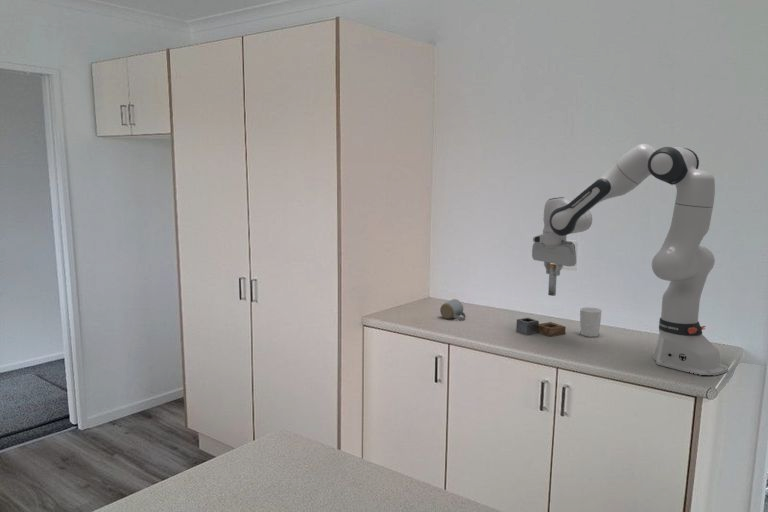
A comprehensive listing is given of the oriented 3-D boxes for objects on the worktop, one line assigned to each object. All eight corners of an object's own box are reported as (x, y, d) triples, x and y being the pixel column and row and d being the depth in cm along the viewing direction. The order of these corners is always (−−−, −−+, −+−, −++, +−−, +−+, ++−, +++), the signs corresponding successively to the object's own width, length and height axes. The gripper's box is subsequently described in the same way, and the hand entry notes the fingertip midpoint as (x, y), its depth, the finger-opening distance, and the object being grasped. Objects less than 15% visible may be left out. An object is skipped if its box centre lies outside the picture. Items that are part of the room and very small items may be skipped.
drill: (557, 295, 230) (558, 264, 228) (551, 296, 228) (553, 265, 226) (551, 293, 232) (553, 263, 230) (546, 294, 231) (547, 264, 229)
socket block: (538, 333, 232) (538, 320, 231) (526, 335, 229) (527, 322, 228) (527, 329, 237) (528, 317, 236) (516, 331, 234) (516, 319, 234)
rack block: (565, 334, 231) (565, 326, 230) (550, 336, 227) (550, 329, 227) (550, 329, 238) (550, 322, 237) (535, 331, 234) (535, 324, 233)
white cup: (577, 335, 229) (578, 310, 227) (580, 330, 236) (582, 306, 234) (598, 338, 225) (600, 312, 224) (601, 333, 232) (602, 308, 231)
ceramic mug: (438, 318, 256) (439, 300, 254) (448, 314, 262) (449, 297, 261) (459, 322, 249) (460, 304, 248) (469, 318, 255) (470, 301, 254)
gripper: (581, 241, 220) (579, 278, 222) (541, 236, 237) (540, 270, 239) (568, 242, 216) (567, 279, 218) (530, 237, 234) (528, 271, 236)
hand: (552, 274), depth 229 cm, fingers closed on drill, 3 cm apart
